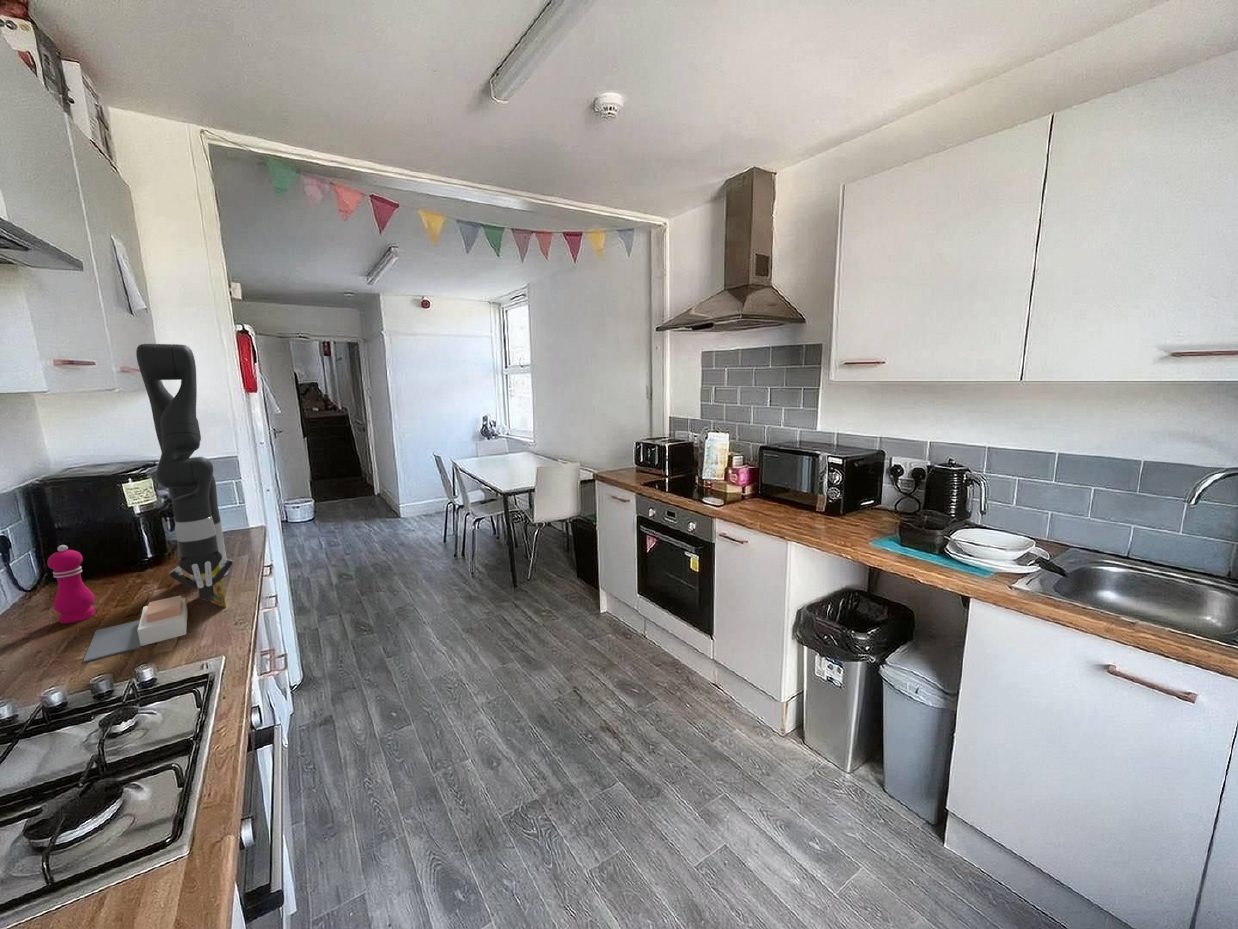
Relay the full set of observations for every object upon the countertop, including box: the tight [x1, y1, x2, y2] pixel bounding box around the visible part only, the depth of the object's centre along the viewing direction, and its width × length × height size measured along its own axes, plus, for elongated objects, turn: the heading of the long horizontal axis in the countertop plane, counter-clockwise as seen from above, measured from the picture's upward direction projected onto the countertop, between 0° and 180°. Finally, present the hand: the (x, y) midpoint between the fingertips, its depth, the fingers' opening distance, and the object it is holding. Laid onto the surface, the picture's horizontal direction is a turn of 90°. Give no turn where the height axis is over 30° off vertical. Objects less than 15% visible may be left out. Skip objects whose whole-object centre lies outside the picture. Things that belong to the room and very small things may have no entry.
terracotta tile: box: [146, 594, 183, 622], centre depth 121 cm, size 9×6×2 cm, turn 40°
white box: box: [138, 597, 188, 647], centre depth 121 cm, size 16×8×4 cm, turn 40°
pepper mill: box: [46, 544, 96, 624], centre depth 126 cm, size 7×7×20 cm
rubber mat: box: [82, 619, 142, 664], centre depth 116 cm, size 18×9×1 cm, turn 40°
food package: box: [196, 564, 227, 608], centre depth 134 cm, size 15×1×20 cm, turn 62°
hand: (207, 599), depth 126 cm, fingers closed
